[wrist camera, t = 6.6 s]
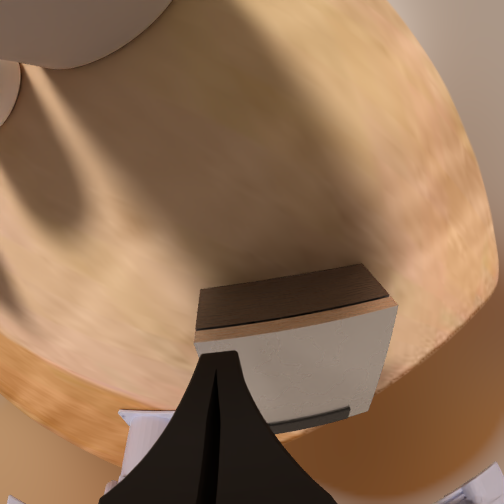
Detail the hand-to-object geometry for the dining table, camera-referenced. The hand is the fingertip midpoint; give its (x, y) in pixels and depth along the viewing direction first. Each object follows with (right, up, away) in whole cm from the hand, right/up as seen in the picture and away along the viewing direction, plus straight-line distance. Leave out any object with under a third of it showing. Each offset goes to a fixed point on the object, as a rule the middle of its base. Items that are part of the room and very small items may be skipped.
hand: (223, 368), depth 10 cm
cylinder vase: (-9, +22, 0) cm, 24 cm away
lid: (+4, -5, +8) cm, 10 cm away
